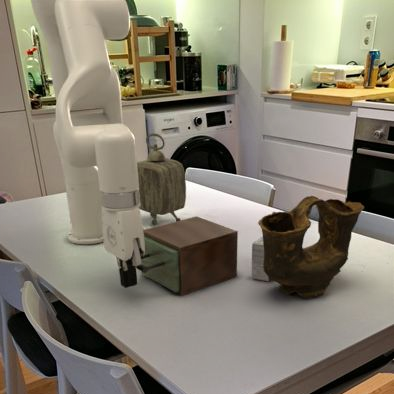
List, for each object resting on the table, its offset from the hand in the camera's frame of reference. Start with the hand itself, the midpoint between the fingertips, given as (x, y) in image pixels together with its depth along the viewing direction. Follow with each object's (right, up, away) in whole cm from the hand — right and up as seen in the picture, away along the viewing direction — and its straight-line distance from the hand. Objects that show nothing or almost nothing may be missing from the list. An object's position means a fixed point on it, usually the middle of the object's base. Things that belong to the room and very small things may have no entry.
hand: (129, 285), depth 109 cm
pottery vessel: (+38, -1, +3) cm, 38 cm away
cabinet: (+13, +3, +10) cm, 17 cm away
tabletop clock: (+3, +24, +44) cm, 51 cm away
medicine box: (+31, +3, +10) cm, 32 cm away
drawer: (+9, +3, +7) cm, 12 cm away
